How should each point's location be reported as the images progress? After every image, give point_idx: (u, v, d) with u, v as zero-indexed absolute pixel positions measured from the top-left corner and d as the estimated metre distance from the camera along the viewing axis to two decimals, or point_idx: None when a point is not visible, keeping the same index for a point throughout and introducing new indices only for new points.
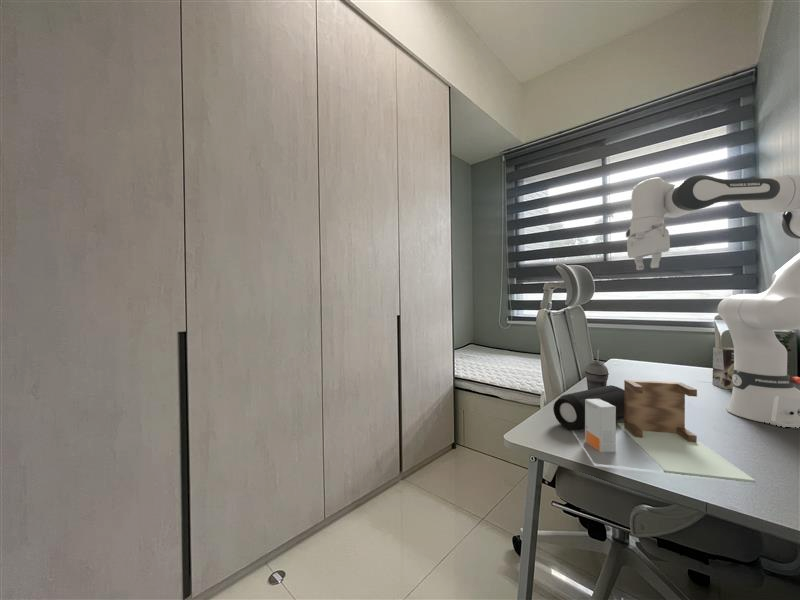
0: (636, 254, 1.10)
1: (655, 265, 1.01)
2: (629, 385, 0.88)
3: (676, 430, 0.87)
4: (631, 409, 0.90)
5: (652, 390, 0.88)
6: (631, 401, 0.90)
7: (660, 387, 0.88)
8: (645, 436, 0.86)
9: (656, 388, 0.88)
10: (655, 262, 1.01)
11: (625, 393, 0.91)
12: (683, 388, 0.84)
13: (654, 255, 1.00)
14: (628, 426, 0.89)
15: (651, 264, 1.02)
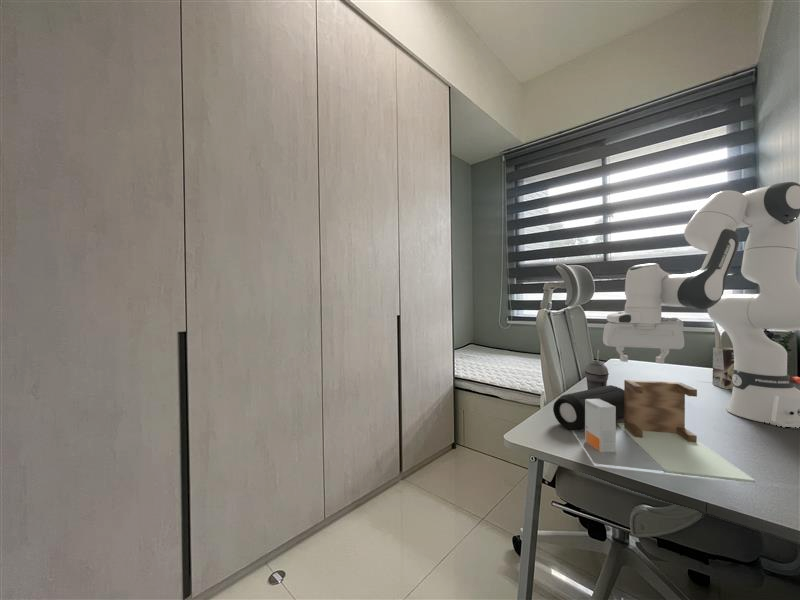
0: (632, 345, 0.94)
1: None
2: (629, 385, 0.88)
3: (676, 430, 0.87)
4: (631, 409, 0.90)
5: (652, 390, 0.88)
6: (631, 401, 0.90)
7: (660, 387, 0.88)
8: (645, 436, 0.86)
9: (656, 388, 0.88)
10: None
11: (625, 393, 0.91)
12: (683, 388, 0.84)
13: (668, 351, 0.93)
14: (628, 426, 0.89)
15: (662, 360, 0.93)
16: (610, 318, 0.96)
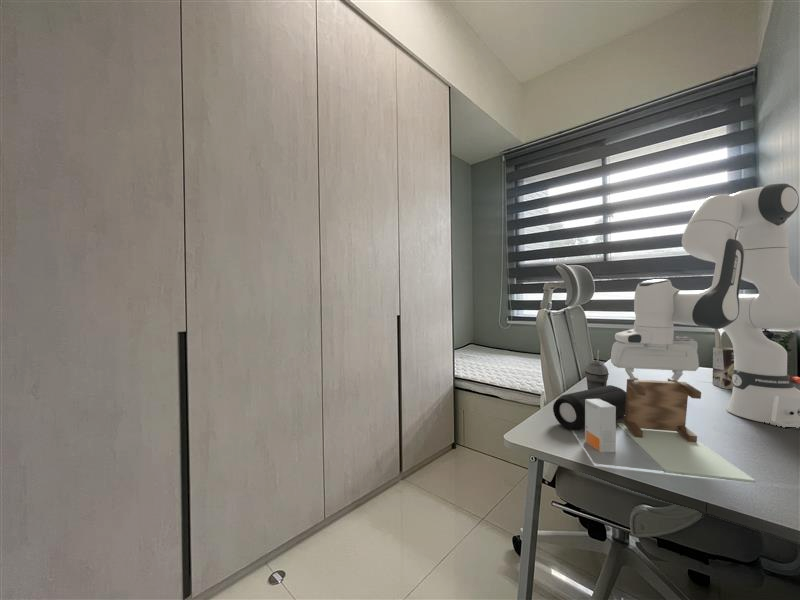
0: (642, 366, 0.88)
1: None
2: (632, 386, 0.87)
3: (676, 428, 0.87)
4: (632, 408, 0.89)
5: (655, 390, 0.87)
6: (633, 400, 0.89)
7: (663, 387, 0.86)
8: (645, 436, 0.86)
9: (659, 388, 0.87)
10: None
11: (627, 392, 0.90)
12: (687, 389, 0.83)
13: (681, 373, 0.87)
14: (628, 425, 0.89)
15: None
16: (618, 337, 0.91)
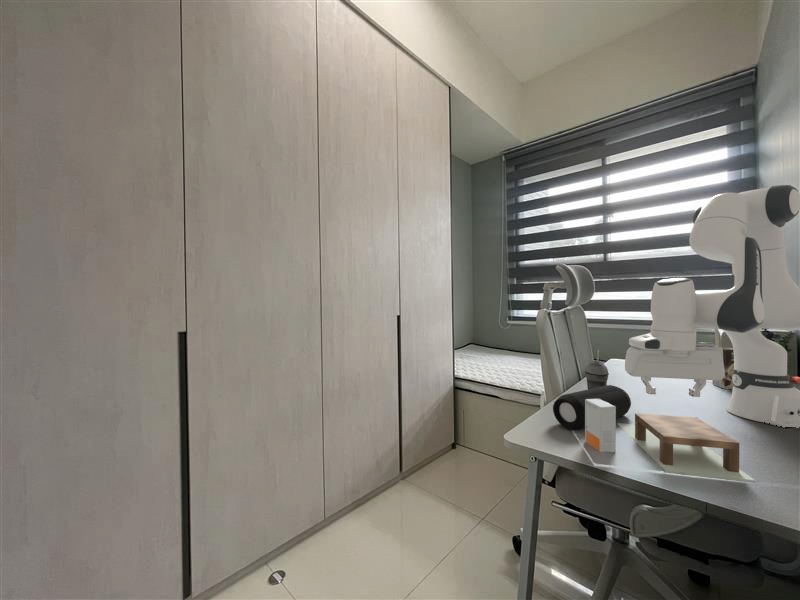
0: (661, 375, 0.79)
1: None
2: (662, 448, 0.73)
3: None
4: None
5: None
6: None
7: None
8: None
9: None
10: None
11: (655, 432, 0.75)
12: (727, 460, 0.69)
13: None
14: (637, 424, 0.84)
15: (697, 393, 0.78)
16: (634, 343, 0.82)
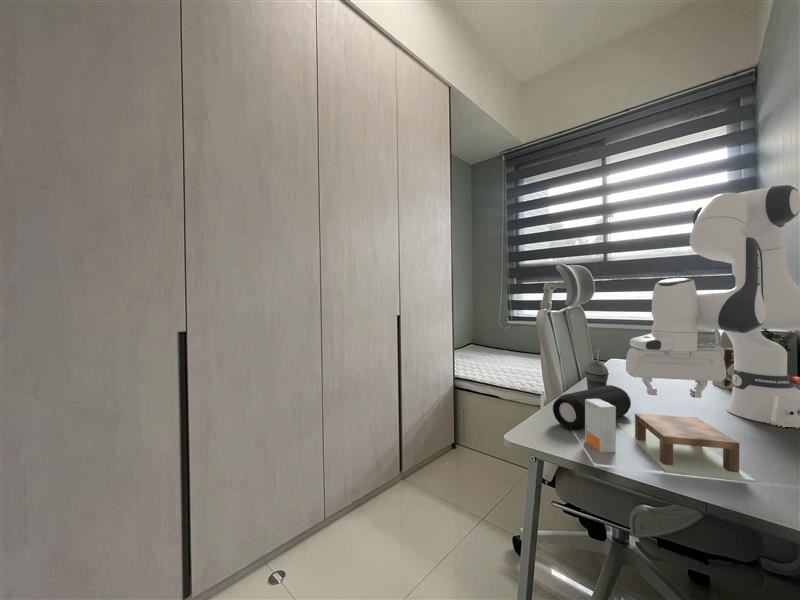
0: (662, 376, 0.79)
1: None
2: (662, 448, 0.73)
3: None
4: None
5: None
6: None
7: None
8: None
9: None
10: None
11: (655, 432, 0.75)
12: (727, 460, 0.69)
13: (706, 383, 0.77)
14: (637, 424, 0.84)
15: (698, 393, 0.78)
16: (635, 343, 0.81)
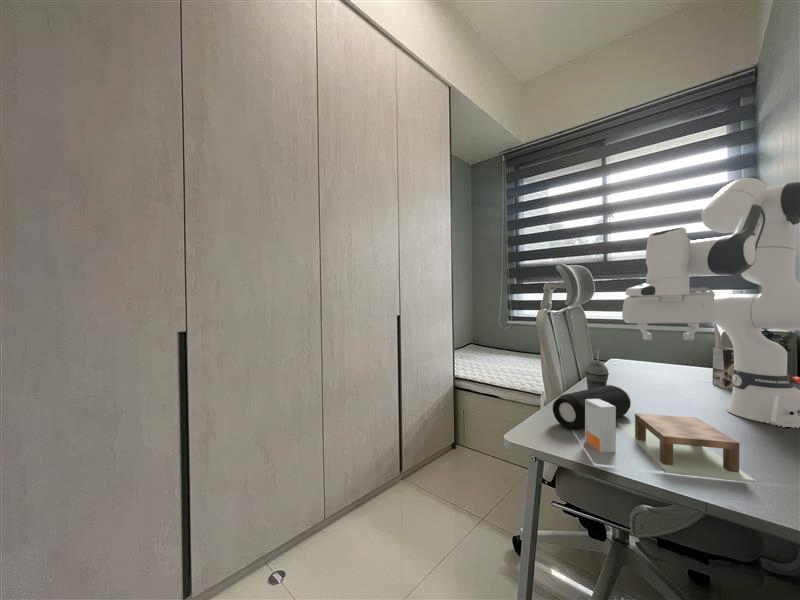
0: (657, 320, 0.83)
1: None
2: (662, 448, 0.73)
3: None
4: None
5: None
6: None
7: None
8: None
9: None
10: None
11: (655, 432, 0.75)
12: (727, 460, 0.69)
13: None
14: (637, 424, 0.84)
15: (691, 336, 0.82)
16: (630, 291, 0.85)
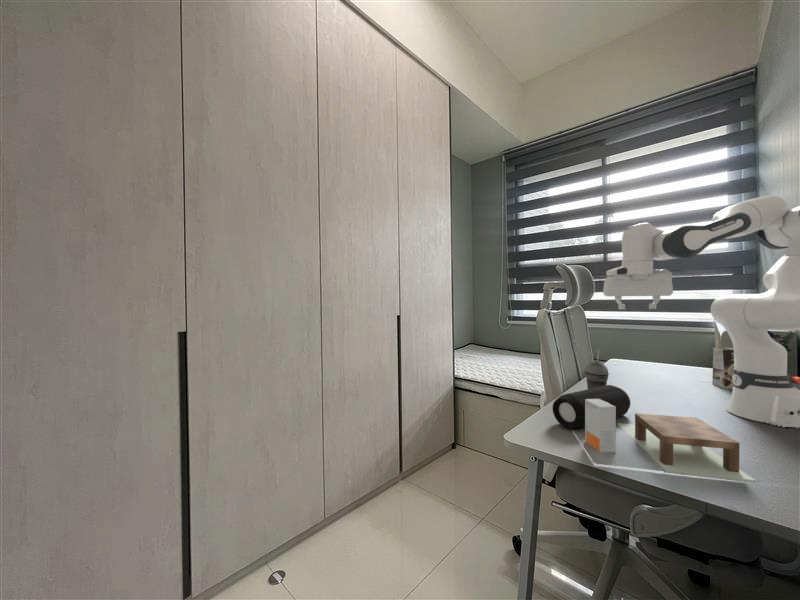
0: (628, 294, 1.09)
1: None
2: (662, 448, 0.73)
3: None
4: None
5: None
6: None
7: None
8: None
9: None
10: None
11: (655, 432, 0.75)
12: (727, 460, 0.69)
13: (659, 298, 1.08)
14: (637, 424, 0.84)
15: (654, 306, 1.08)
16: (609, 272, 1.12)
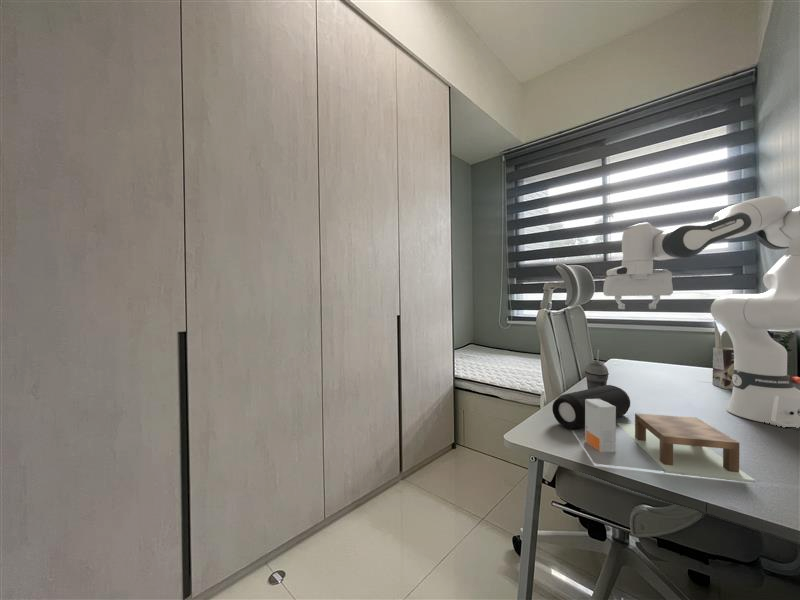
0: (628, 294, 1.10)
1: None
2: (662, 448, 0.73)
3: None
4: None
5: None
6: None
7: None
8: None
9: None
10: None
11: (655, 432, 0.75)
12: (727, 460, 0.69)
13: (659, 297, 1.08)
14: (637, 424, 0.84)
15: (654, 305, 1.09)
16: (609, 272, 1.12)
